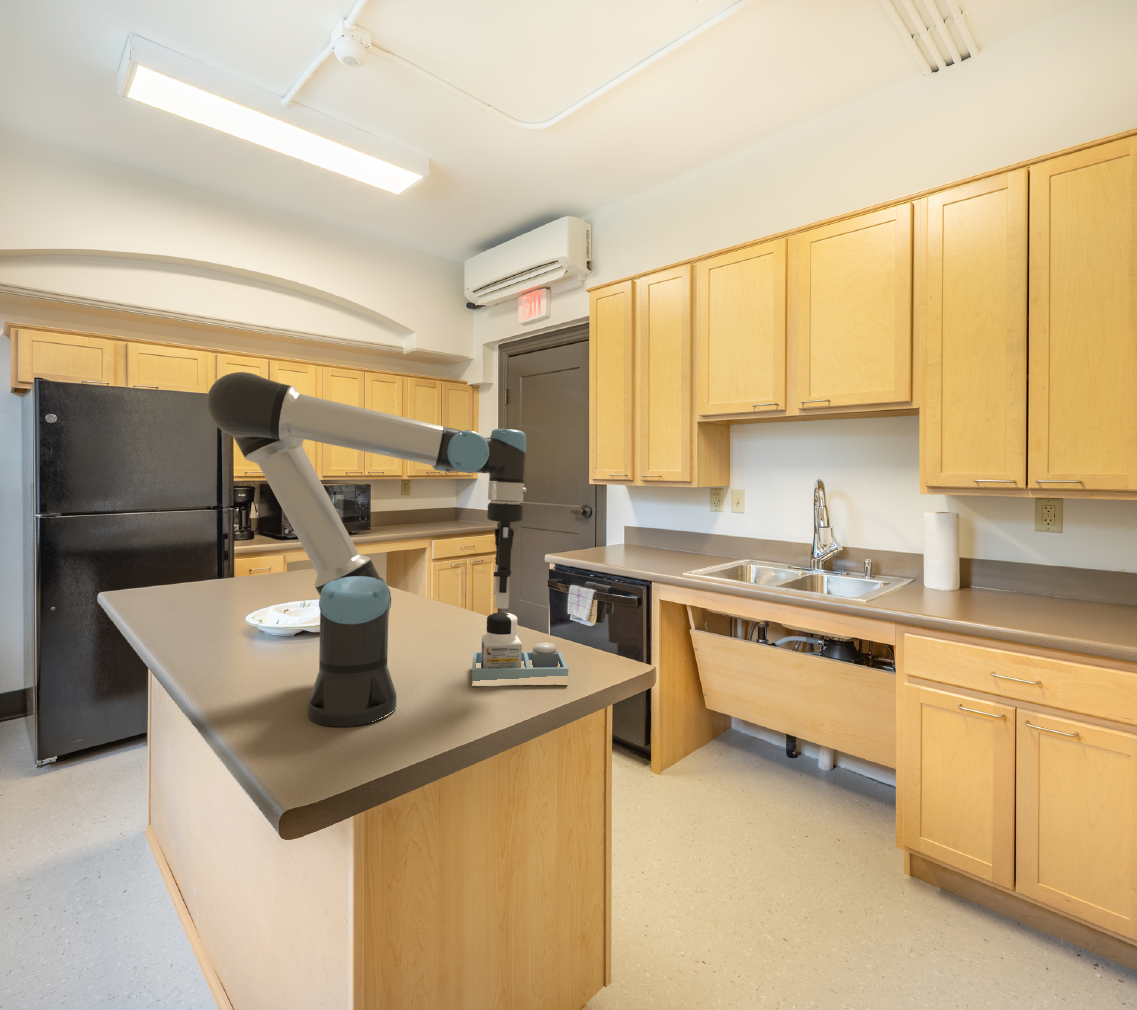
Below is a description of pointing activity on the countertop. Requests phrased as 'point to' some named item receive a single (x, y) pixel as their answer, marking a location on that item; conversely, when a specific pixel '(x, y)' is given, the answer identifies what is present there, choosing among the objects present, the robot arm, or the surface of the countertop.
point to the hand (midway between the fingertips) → (500, 601)
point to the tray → (542, 662)
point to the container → (501, 642)
